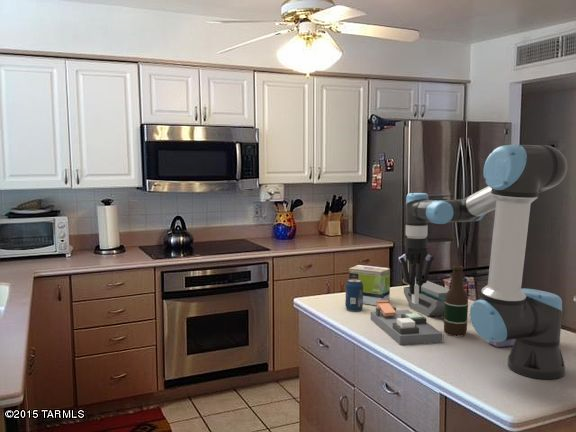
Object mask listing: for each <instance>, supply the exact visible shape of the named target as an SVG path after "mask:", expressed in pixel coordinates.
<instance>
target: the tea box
mask: <svg viewBox="0 0 576 432" xmlns="http://www.w3.org/2000/svg"><path fill="white" fill-rule="evenodd" d="M348 279H360V280H362V283H363V305H371V306H376V301H381V300H388V301H389V302H390V296H391V295H390V294H391V280H390V279H391V268H390V267H381V266H373V265H364V264H357V265H355V266H352V267H349V268H348Z"/></svg>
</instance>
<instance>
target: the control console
mask: <svg viewBox="0 0 576 432" xmlns="http://www.w3.org/2000/svg"><path fill="white" fill-rule="evenodd" d="M392 308H393V309H394V310H395V311H396V316H384V315H383V314H382V312H381V311H380V308H379V307H377V306H376V307H375V311H370V320H371V321H372V322H373V323H374V324H375V325H376V326H378V327H379V329H381V330H382V331H384V333H386V334H387V335H388V336H389V337H390V338H391V339H393V340H394V341H395V342H396V343H397V344H398V345H400V346H404V345H419V344H435V343H443V335H444V334H443V332H441V331H440V330H438V329H437V328H435V327H434V326H433V325H431V324H430V323H428V322H427V318H426V316H424V315H423V314H421V313H419V312H416V313H417V314H419V315H420V316H422V317H423V318H420V319H412V320H413V321H415V328H401V327H400V326H398V325H397V318H408V317H406V316H405V314H412V313H413V312H412V311H410V309H400V310H399V309H397V307H395V305H394V306H392Z"/></svg>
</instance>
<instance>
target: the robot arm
mask: <svg viewBox="0 0 576 432" xmlns="http://www.w3.org/2000/svg"><path fill="white" fill-rule="evenodd" d="M567 162H568V161H567V159H566V157H565V156H564V154H563V153H562V152H561V151H560V150H559V149H558V148H556V147H554V146H550V145H542V144H541V145H540V144H539V145H536V144H534V145H531V144H507V145H500V146H498V147H496V148H494V149H493V150H492V152H490V153H489V155H488V156H487V158H486V160H485V161H484V165H483V178H484V180H485V184H486V185H487V186H486V187H484V188H482V189H480V190H478V191H476V192H474V193H473V194H471V195H468V196H467V197H464V198H463V199H442V200H441V199H435V200H434V199H429V194H428V193H426V192H413V193H412V192H409V193H407V195H406V199H405V200H406V201H405V236H406V237H405V241H404V243H405V247H404V248H405V249H404V252H403V254H402V255H401V256H397V261H399V263H400V266H401V267H400V268H401V271H402V276H403V279H404V282H405V283H407V284H409V285H408V286H409V287H410V291H409V292H410V294H412V303H414V304H419V294H421V286H422V285H423V283H426V282H427V281H428V278H429V275H430V270H431V265H432V263H433V261H434V259H435V257H434V256H432V255H430V254H429V251H428V238H427V237H428V228H429V227H428V225H429V224H428V223H433V224H434V225H444V224H445V225H446V224H447V223H460V222H461V223H465V222H466V223H467V222H468V223H469V222H470V223H472V222H478V221H481V220H482V219H483V218H484V217H485V215H486V214H488V213H490V212H492V211H495V212H494V218H493V219H494V221H493V227H492V228H493V229H492V239H491V250H490V258H489V269H488V279H487V285H485V286H484V287H482V288H481V290H480V297H479V298H480V299H476V300H475V301H474V302H473V303H472V304H471V305H470V309H469V317H470V319H469V320H470V323H471V325H472V327H473V328H474V330H475V332H476V334H477V335H478V336H479V337H480V338H481V339H483V340H484V341H487V342H489V341H490V342H495V341H498V342H502V341H505V340H512V339H515V342H514V345H513V346H512V348H511V351H510V353H509V355H508V357H507V367H508V368H509V369H510V370H511V371H513V372H514V373H516V374H519V375H522V376H525V377H528V378H531V379H540V380H557V379H560V378H563V377H564V376H565V374H566V373H565V372H566V365H565V361H564V357H563V354H562V351H561V348H560V341H561V332H562V331H561V330H562V318H563V317H562V316H563V300H562V298H561V296H559V295H557V294H555V293H552V292H549V291H543V290H540V289H535V288H534V289H533V288H525V287H524V288H522V285H523V284H522V283H523V275H524V274H523V273H524V266H525V265H524V264H525V257H526V248H527V238H528V229H529V221H530V214H531V213H530V212H531V204H532V203H533V202H534V201H536V200H537V199H538V198H539V194H541V193H543V192H545V191H548V190H550V189H552V188H554V187H556V186H558V185H560V183H561V182H563V180H564V179H565V177H566V175H567V173H568V172H567V171H568V163H567ZM407 261H408V265H407ZM424 261H425V262H424ZM408 266H409V267H408ZM408 268H409V269H408ZM415 278H416V284H415ZM405 283H404V284H405ZM407 284H406V285H407Z"/></svg>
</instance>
